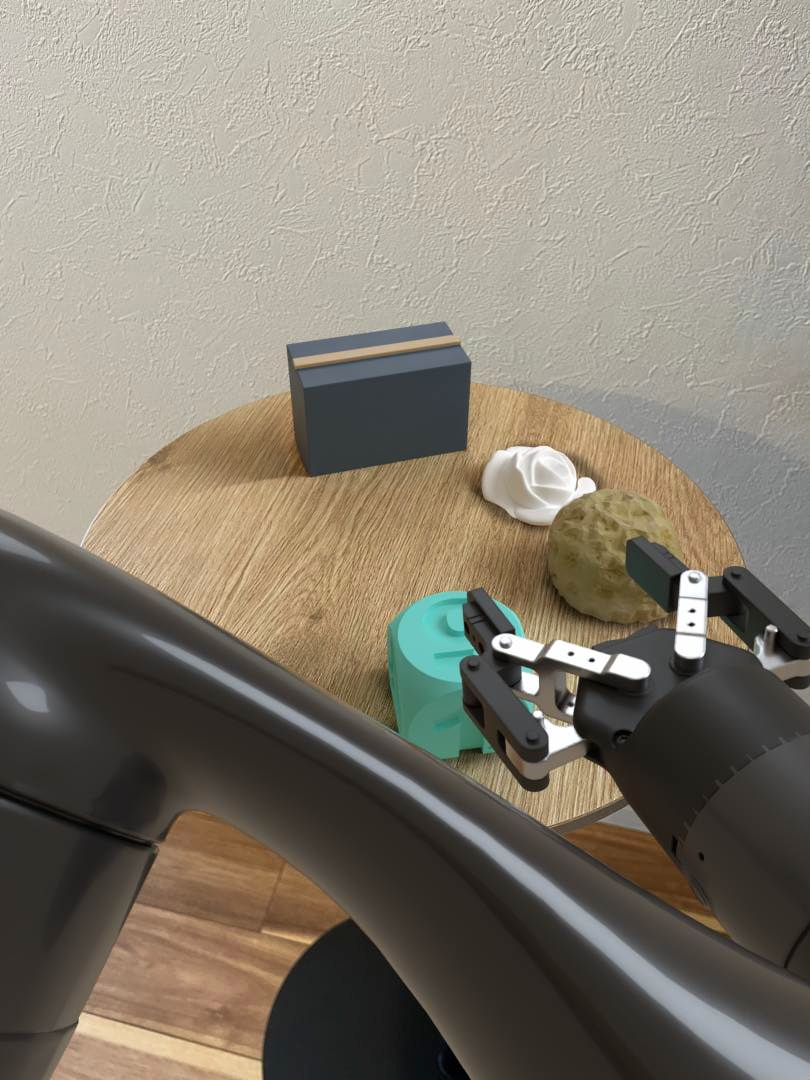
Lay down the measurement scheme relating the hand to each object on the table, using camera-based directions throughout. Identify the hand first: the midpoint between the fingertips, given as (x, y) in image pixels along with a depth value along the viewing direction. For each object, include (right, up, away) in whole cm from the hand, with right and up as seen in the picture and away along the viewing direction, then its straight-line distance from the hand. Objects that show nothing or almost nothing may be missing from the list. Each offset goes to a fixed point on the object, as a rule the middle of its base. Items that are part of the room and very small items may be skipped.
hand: (554, 577), depth 47 cm
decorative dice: (-4, -10, +18) cm, 21 cm away
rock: (+8, -2, +27) cm, 28 cm away
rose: (+4, +5, +35) cm, 36 cm away
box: (-9, +10, +40) cm, 42 cm away
